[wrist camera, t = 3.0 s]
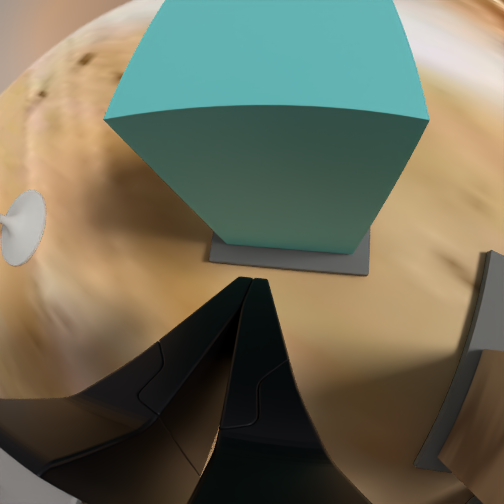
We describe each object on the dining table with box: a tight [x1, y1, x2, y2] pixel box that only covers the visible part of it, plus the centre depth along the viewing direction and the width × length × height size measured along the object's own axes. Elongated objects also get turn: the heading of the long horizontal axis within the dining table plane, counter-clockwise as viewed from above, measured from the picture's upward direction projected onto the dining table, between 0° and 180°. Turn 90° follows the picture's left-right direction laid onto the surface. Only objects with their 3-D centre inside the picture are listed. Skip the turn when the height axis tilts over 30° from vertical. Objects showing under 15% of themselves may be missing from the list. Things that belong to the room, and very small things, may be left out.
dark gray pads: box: [209, 228, 504, 504], centre depth 15 cm, size 18×44×1 cm, turn 38°
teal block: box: [103, 0, 429, 254], centre depth 12 cm, size 7×7×12 cm
